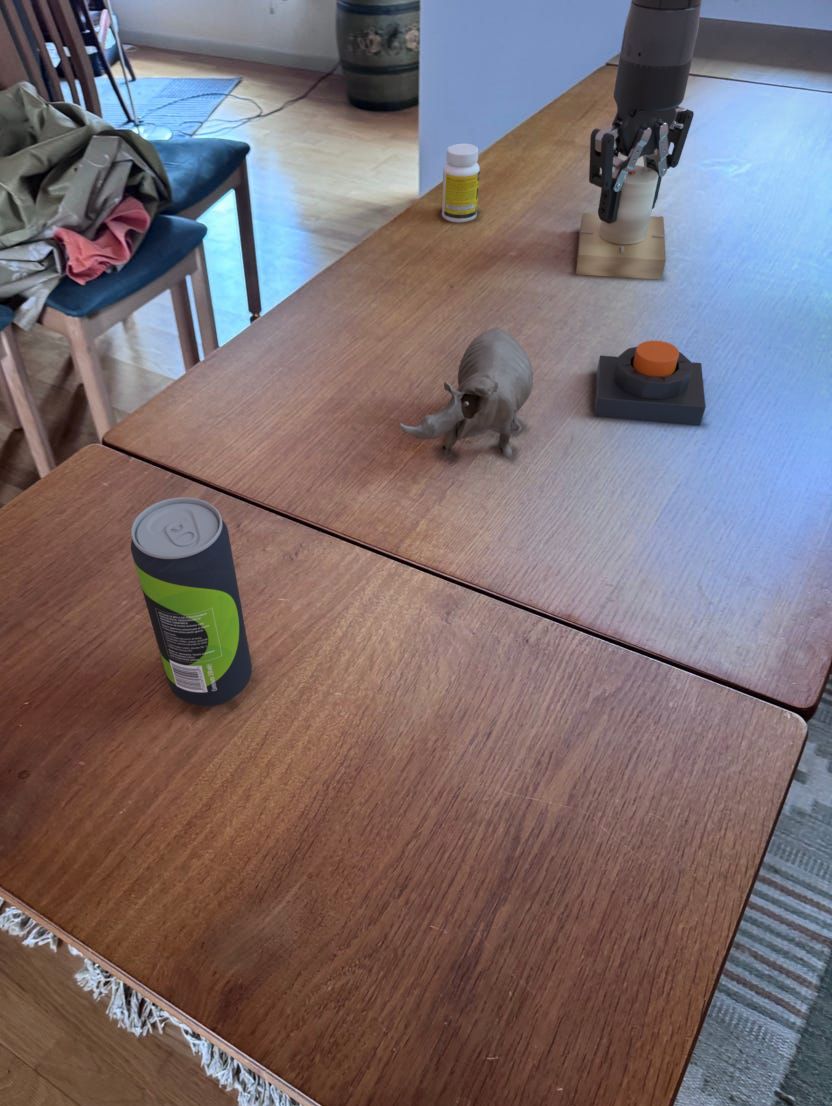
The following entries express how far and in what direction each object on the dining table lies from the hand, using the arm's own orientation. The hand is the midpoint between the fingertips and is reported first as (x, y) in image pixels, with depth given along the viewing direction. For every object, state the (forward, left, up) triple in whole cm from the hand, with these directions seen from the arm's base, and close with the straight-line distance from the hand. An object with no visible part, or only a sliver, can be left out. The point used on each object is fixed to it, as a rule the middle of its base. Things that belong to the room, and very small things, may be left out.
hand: (626, 213), depth 109 cm
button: (-3, +32, -1) cm, 32 cm away
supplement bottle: (+21, -9, -5) cm, 23 cm away
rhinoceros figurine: (+13, +42, -5) cm, 44 cm away
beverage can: (+29, +75, -5) cm, 81 cm away
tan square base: (0, 0, -5) cm, 5 cm away
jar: (0, 0, -2) cm, 2 cm away
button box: (-3, +32, -5) cm, 33 cm away
